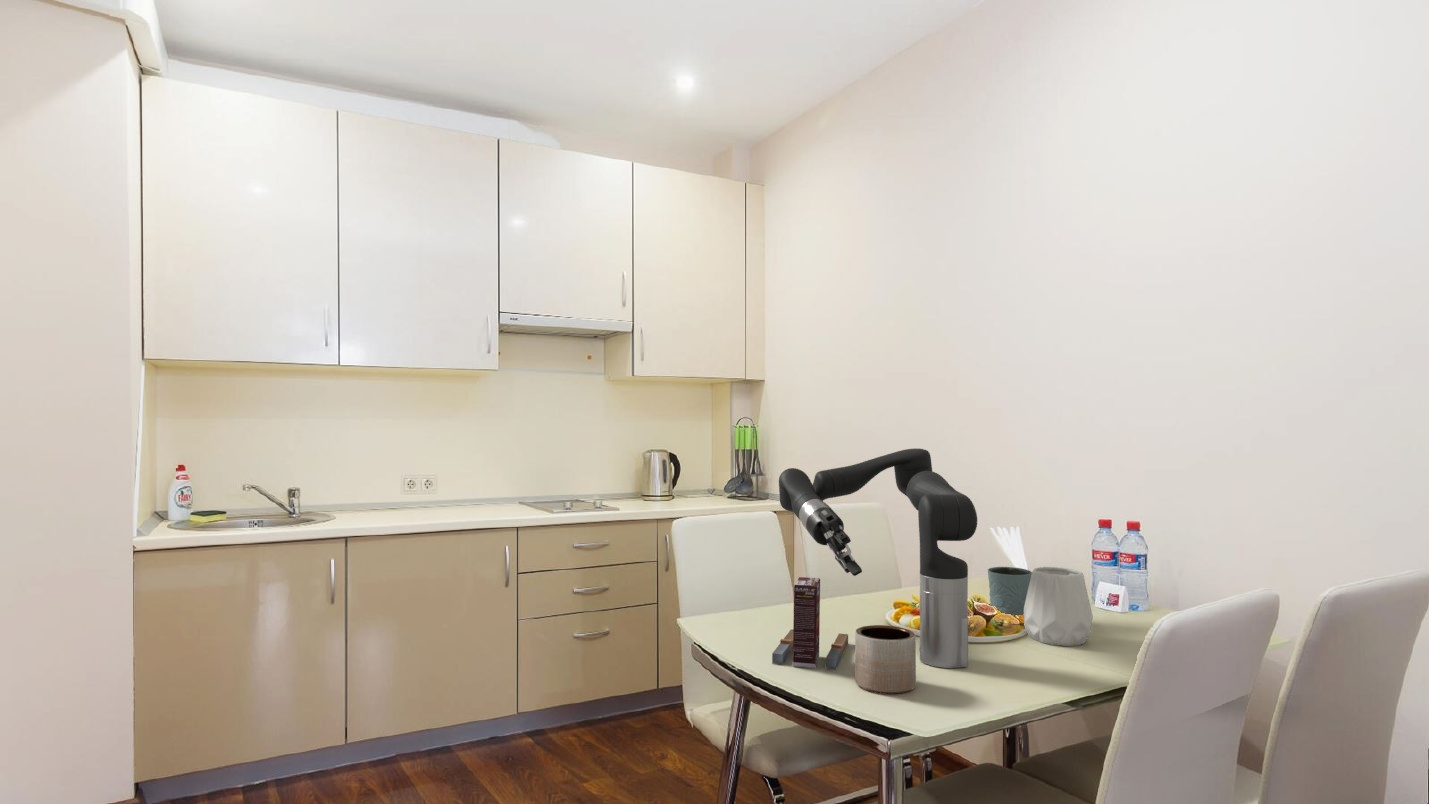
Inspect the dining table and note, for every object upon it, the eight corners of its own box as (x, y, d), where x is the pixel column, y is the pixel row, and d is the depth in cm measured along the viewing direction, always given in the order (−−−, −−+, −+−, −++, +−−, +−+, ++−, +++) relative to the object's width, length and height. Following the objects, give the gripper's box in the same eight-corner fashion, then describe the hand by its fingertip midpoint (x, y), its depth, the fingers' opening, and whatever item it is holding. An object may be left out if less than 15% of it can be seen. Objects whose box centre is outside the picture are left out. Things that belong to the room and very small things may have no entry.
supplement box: (816, 669, 154) (817, 586, 154) (791, 667, 155) (792, 584, 155) (820, 656, 162) (820, 577, 163) (796, 654, 163) (797, 576, 164)
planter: (926, 685, 145) (926, 632, 145) (897, 700, 137) (897, 644, 137) (874, 672, 152) (874, 621, 153) (843, 685, 144) (843, 632, 145)
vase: (1094, 636, 179) (1093, 568, 180) (1091, 652, 167) (1091, 579, 167) (1027, 628, 186) (1027, 563, 186) (1020, 643, 173) (1020, 573, 174)
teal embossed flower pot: (1026, 616, 197) (1026, 567, 198) (1036, 626, 187) (1036, 575, 188) (983, 614, 199) (984, 566, 199) (992, 624, 189) (992, 573, 189)
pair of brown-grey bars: (848, 643, 172) (848, 631, 172) (835, 669, 153) (835, 656, 153) (790, 638, 175) (790, 626, 175) (772, 663, 157) (772, 650, 157)
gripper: (815, 552, 184) (846, 591, 170) (796, 504, 178) (826, 540, 164) (844, 537, 185) (877, 574, 170) (825, 489, 179) (858, 523, 164)
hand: (852, 557), depth 167 cm, fingers open, 8 cm apart
